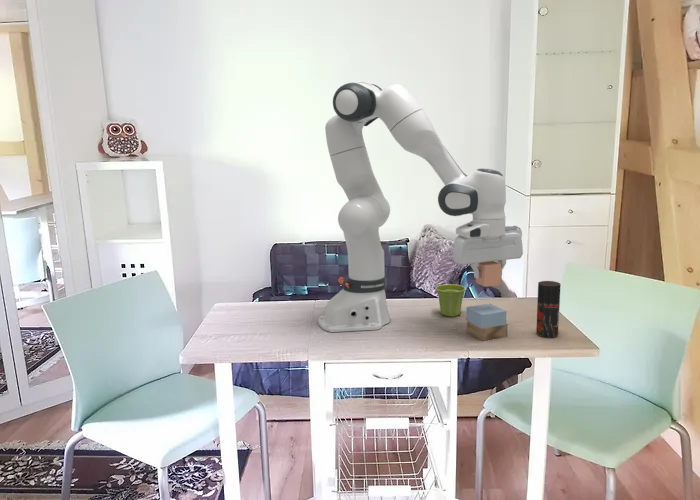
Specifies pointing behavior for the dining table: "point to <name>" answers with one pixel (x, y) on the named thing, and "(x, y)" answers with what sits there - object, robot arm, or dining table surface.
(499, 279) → the terracotta block
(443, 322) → the dining table surface
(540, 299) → the deodorant
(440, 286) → the plant pot
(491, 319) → the tower top
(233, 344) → the dining table surface
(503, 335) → the tower base
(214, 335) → the dining table surface
